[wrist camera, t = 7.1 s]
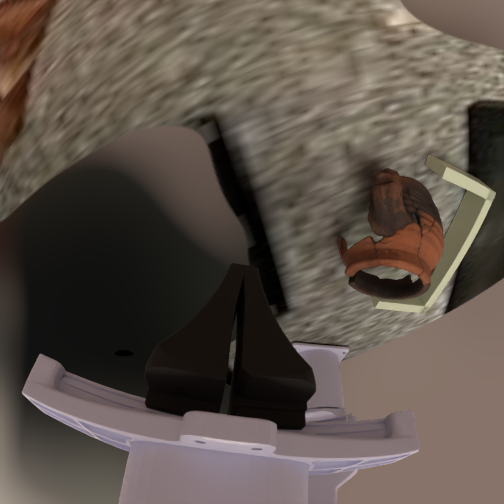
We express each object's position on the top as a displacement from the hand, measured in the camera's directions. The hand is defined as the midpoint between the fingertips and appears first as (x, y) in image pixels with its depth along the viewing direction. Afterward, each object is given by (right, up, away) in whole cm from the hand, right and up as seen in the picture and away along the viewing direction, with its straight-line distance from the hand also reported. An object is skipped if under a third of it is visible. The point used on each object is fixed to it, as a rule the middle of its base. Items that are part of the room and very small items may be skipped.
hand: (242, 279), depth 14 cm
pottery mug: (+12, +5, +8) cm, 15 cm away
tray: (+17, +3, +9) cm, 20 cm away
